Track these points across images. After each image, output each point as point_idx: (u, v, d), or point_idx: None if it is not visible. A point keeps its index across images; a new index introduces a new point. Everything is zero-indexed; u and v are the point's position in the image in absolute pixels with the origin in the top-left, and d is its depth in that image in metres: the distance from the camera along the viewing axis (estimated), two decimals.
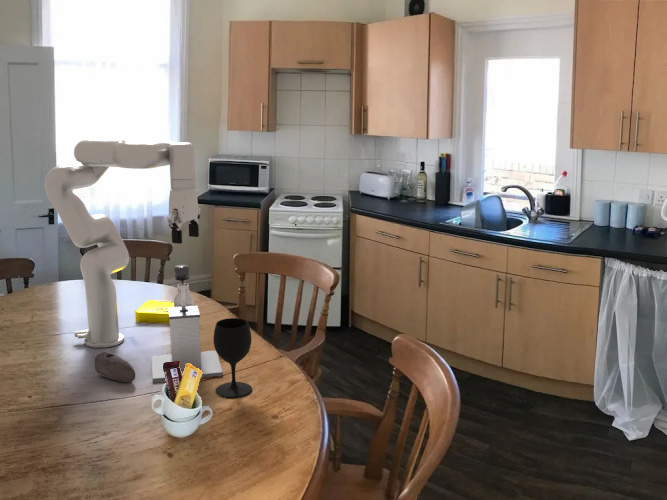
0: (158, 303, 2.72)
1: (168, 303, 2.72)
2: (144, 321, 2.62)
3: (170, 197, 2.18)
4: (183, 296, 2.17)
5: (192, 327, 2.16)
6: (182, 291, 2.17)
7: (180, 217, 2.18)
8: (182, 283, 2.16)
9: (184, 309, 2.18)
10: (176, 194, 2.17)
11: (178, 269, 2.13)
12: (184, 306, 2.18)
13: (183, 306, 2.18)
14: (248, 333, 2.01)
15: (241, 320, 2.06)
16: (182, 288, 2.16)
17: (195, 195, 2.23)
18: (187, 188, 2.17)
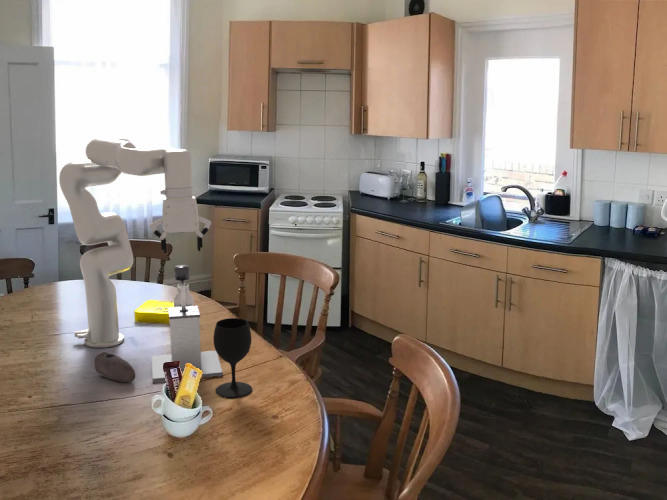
0: (157, 303, 2.72)
1: (167, 303, 2.72)
2: (143, 321, 2.62)
3: (196, 205, 2.10)
4: (183, 296, 2.17)
5: (192, 327, 2.16)
6: (182, 291, 2.17)
7: None
8: (182, 283, 2.16)
9: (184, 309, 2.18)
10: None
11: (178, 269, 2.13)
12: (184, 306, 2.18)
13: (183, 306, 2.18)
14: (248, 333, 2.01)
15: (241, 320, 2.06)
16: (182, 288, 2.16)
17: None
18: None
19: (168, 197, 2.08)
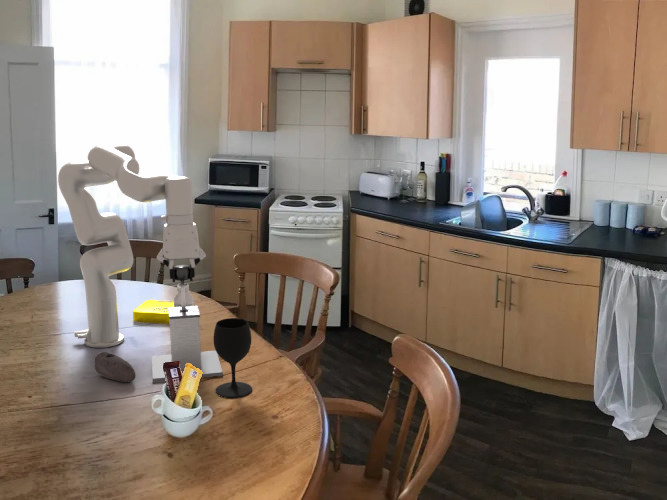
0: (157, 303, 2.72)
1: (166, 303, 2.72)
2: (141, 321, 2.63)
3: (196, 231, 2.12)
4: (183, 296, 2.17)
5: (192, 327, 2.16)
6: (182, 291, 2.17)
7: None
8: (182, 283, 2.16)
9: (184, 309, 2.18)
10: None
11: (178, 269, 2.13)
12: (184, 306, 2.18)
13: (183, 306, 2.18)
14: (248, 333, 2.01)
15: (241, 320, 2.06)
16: (182, 288, 2.16)
17: None
18: None
19: (169, 224, 2.10)
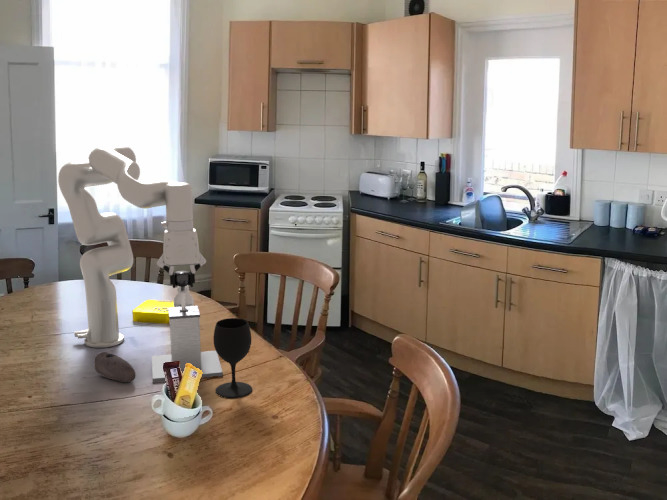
0: (156, 303, 2.72)
1: (166, 303, 2.72)
2: (141, 320, 2.63)
3: (197, 237, 2.13)
4: (183, 302, 2.17)
5: (192, 327, 2.16)
6: (182, 297, 2.17)
7: None
8: (182, 289, 2.16)
9: None
10: None
11: (179, 275, 2.14)
12: None
13: None
14: (248, 333, 2.01)
15: (241, 320, 2.06)
16: (182, 294, 2.17)
17: None
18: None
19: (169, 230, 2.10)
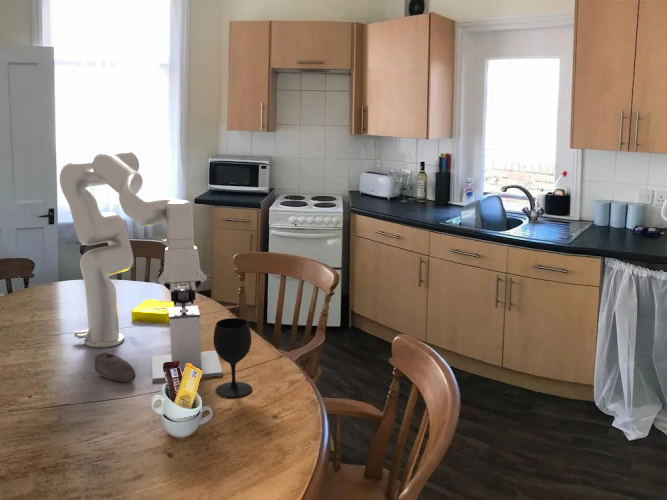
0: (156, 303, 2.72)
1: (165, 303, 2.72)
2: (139, 320, 2.63)
3: (197, 254, 2.14)
4: None
5: (192, 327, 2.16)
6: None
7: None
8: (183, 306, 2.18)
9: None
10: (196, 249, 2.15)
11: (179, 292, 2.15)
12: None
13: None
14: (248, 333, 2.01)
15: (241, 320, 2.06)
16: (183, 311, 2.18)
17: None
18: None
19: (170, 247, 2.11)
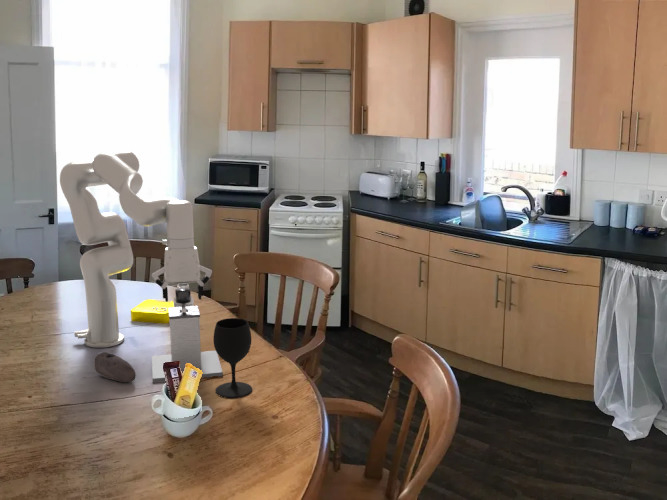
0: (155, 302, 2.72)
1: (165, 303, 2.72)
2: (139, 320, 2.63)
3: (197, 255, 2.14)
4: None
5: (192, 327, 2.16)
6: None
7: None
8: (183, 306, 2.18)
9: None
10: None
11: (179, 292, 2.15)
12: None
13: None
14: (248, 333, 2.01)
15: (241, 320, 2.06)
16: (183, 311, 2.18)
17: None
18: None
19: (170, 248, 2.11)
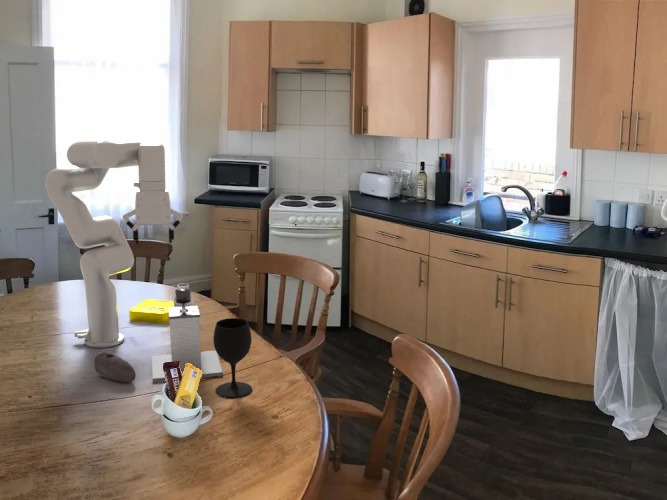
0: (154, 302, 2.72)
1: (164, 303, 2.72)
2: (137, 320, 2.63)
3: (168, 198, 2.15)
4: None
5: (192, 327, 2.16)
6: None
7: None
8: (183, 306, 2.18)
9: None
10: None
11: (179, 292, 2.15)
12: None
13: None
14: (248, 333, 2.01)
15: (241, 320, 2.06)
16: (183, 311, 2.18)
17: None
18: None
19: (141, 190, 2.12)
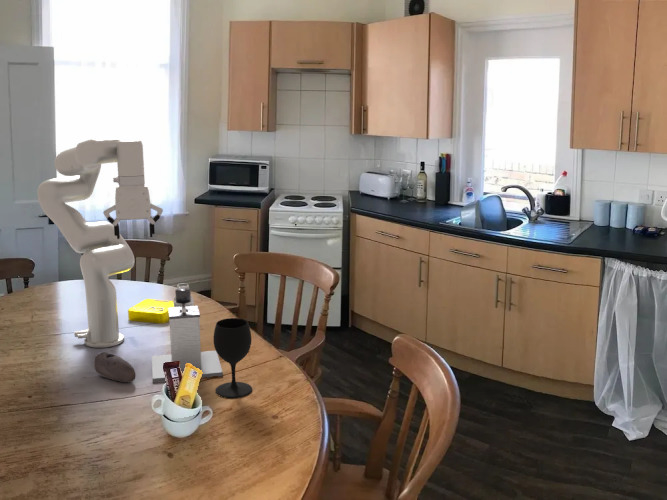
0: (154, 302, 2.73)
1: (163, 303, 2.72)
2: (136, 320, 2.64)
3: (148, 193, 2.19)
4: None
5: (192, 327, 2.16)
6: None
7: None
8: (183, 306, 2.18)
9: None
10: None
11: (179, 292, 2.15)
12: None
13: None
14: (248, 333, 2.01)
15: (241, 320, 2.06)
16: (183, 311, 2.18)
17: None
18: None
19: (120, 185, 2.16)
